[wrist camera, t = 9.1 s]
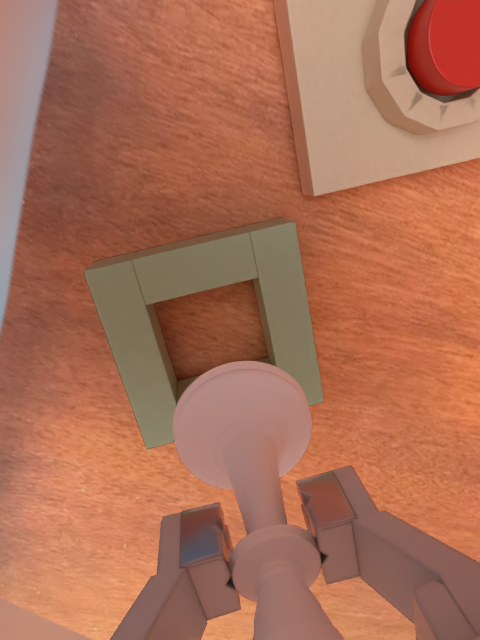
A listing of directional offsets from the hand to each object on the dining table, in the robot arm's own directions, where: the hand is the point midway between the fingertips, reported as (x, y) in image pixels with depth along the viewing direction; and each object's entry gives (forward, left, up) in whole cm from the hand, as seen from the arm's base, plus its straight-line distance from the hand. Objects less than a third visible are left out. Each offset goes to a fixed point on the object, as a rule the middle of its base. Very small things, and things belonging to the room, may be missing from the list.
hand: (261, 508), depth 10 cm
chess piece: (0, 0, -4) cm, 4 cm away
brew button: (+14, +12, -12) cm, 22 cm away
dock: (0, 0, -16) cm, 15 cm away
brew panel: (+14, +12, -15) cm, 24 cm away
